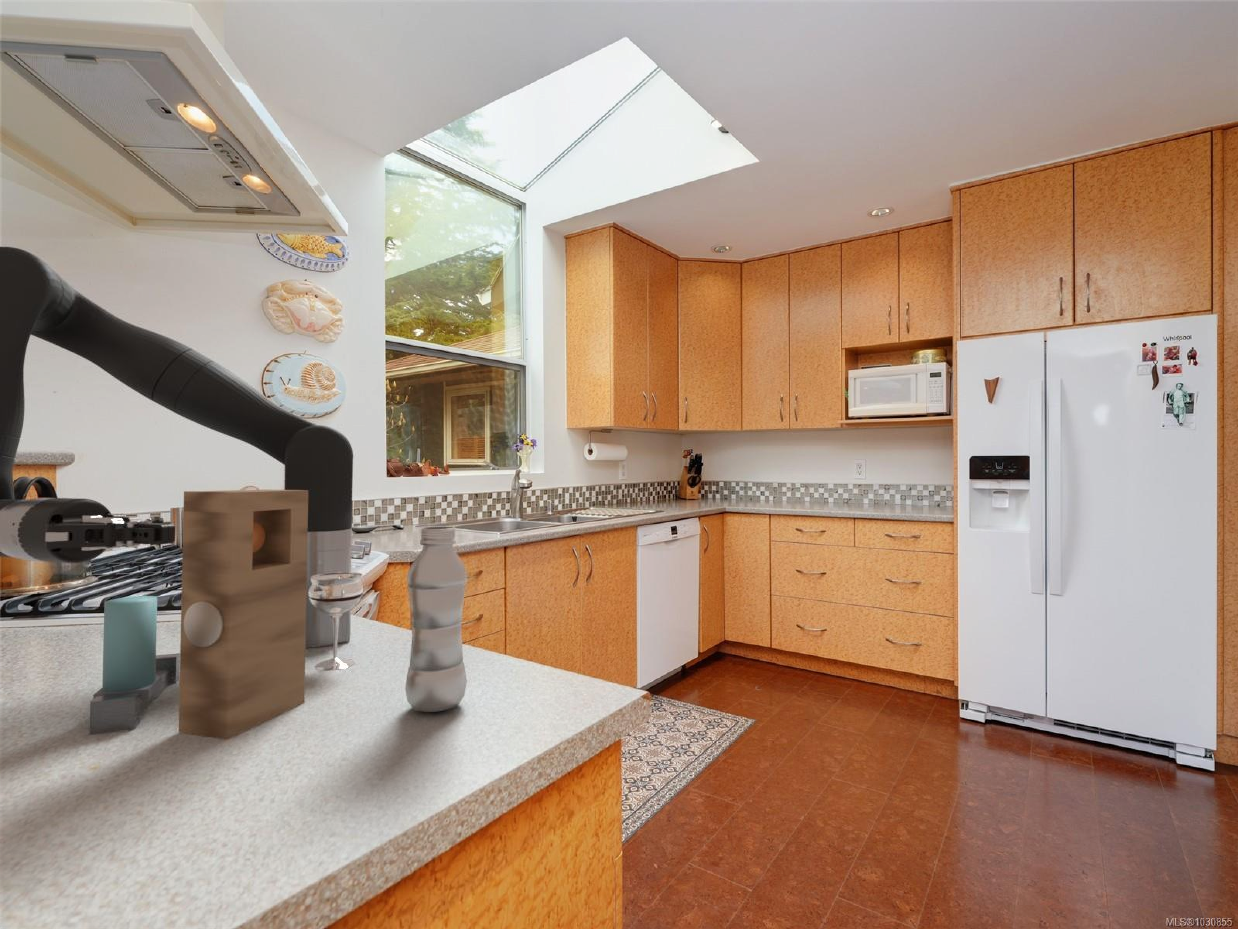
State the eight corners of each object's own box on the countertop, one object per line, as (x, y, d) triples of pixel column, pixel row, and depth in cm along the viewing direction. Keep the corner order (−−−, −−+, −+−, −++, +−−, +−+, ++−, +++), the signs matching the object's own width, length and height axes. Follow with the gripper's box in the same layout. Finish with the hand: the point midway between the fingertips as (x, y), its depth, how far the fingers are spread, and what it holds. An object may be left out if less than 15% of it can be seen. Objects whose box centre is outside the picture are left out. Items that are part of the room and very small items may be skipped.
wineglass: (334, 654, 86) (336, 570, 87) (372, 660, 84) (374, 573, 84) (295, 669, 80) (296, 578, 80) (335, 675, 78) (336, 581, 78)
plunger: (186, 552, 65) (187, 522, 65) (213, 548, 68) (213, 519, 68) (239, 554, 63) (240, 523, 63) (264, 551, 66) (265, 521, 66)
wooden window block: (174, 734, 60) (180, 491, 60) (260, 697, 70) (264, 489, 70) (223, 741, 58) (229, 492, 59) (304, 702, 68) (308, 490, 69)
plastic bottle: (477, 701, 69) (480, 526, 70) (442, 724, 63) (445, 531, 63) (430, 694, 71) (433, 524, 72) (391, 715, 65) (394, 529, 65)
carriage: (162, 684, 67) (164, 594, 68) (148, 698, 63) (150, 602, 63) (110, 689, 66) (112, 597, 66) (93, 704, 61) (95, 606, 62)
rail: (179, 678, 76) (180, 653, 76) (134, 729, 61) (135, 697, 61) (144, 682, 74) (144, 656, 74) (89, 734, 59) (90, 702, 60)
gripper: (-16, 500, 65) (106, 502, 61) (113, 496, 78) (222, 498, 74) (-18, 569, 65) (104, 577, 61) (112, 554, 78) (220, 560, 74)
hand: (168, 534), depth 67 cm, fingers closed
